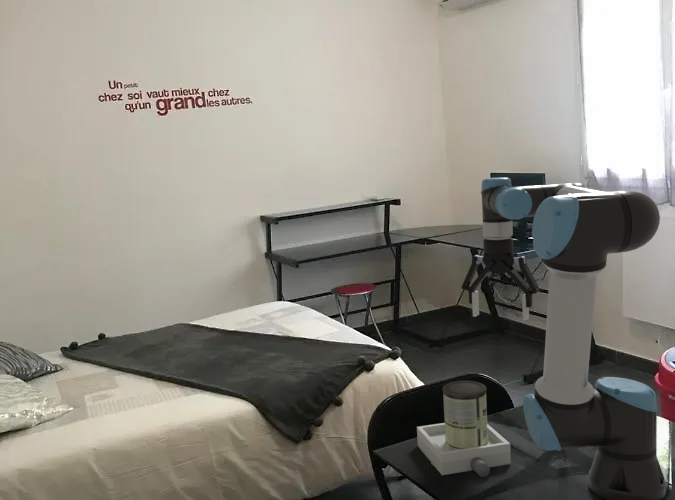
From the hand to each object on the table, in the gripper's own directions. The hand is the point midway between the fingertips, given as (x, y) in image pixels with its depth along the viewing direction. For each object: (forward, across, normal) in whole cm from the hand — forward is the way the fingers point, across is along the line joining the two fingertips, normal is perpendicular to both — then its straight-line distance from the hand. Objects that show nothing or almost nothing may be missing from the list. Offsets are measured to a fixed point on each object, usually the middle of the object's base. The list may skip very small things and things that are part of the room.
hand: (500, 317), depth 183 cm
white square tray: (+29, +1, +25) cm, 38 cm away
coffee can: (+26, +1, +23) cm, 35 cm away
